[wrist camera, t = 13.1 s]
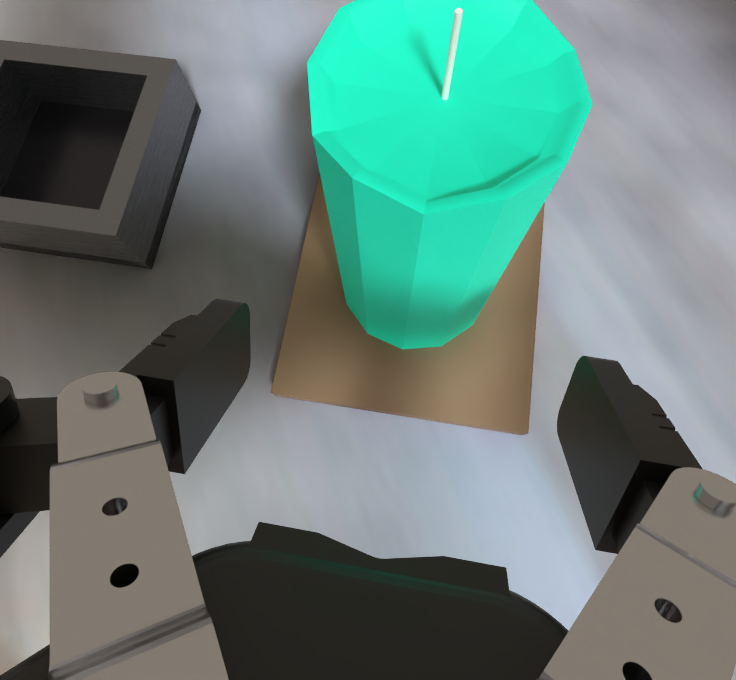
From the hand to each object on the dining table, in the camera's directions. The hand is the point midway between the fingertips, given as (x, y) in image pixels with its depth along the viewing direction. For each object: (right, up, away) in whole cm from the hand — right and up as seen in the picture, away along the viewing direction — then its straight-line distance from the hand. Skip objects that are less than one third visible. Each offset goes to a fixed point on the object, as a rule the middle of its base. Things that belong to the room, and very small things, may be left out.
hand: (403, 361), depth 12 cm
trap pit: (-14, +8, +11) cm, 20 cm away
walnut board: (+1, +3, +9) cm, 10 cm away
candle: (+1, +3, +8) cm, 9 cm away
